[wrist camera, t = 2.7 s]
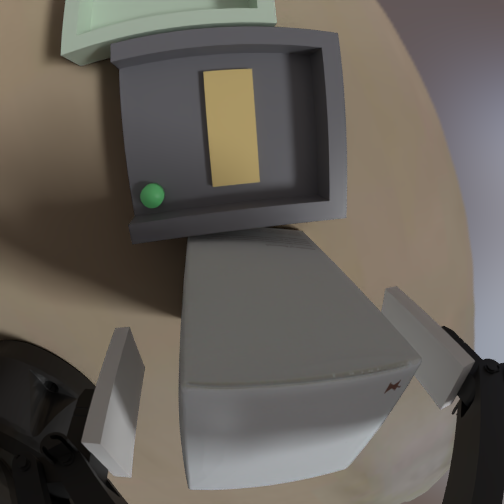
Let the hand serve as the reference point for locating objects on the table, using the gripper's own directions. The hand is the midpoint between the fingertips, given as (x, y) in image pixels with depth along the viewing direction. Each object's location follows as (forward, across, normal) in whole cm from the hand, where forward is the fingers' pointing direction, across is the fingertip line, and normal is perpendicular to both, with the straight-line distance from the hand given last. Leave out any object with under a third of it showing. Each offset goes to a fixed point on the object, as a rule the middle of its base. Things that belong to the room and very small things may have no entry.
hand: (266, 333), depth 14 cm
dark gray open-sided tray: (+6, 0, +10) cm, 11 cm away
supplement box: (+6, 0, 0) cm, 6 cm away
